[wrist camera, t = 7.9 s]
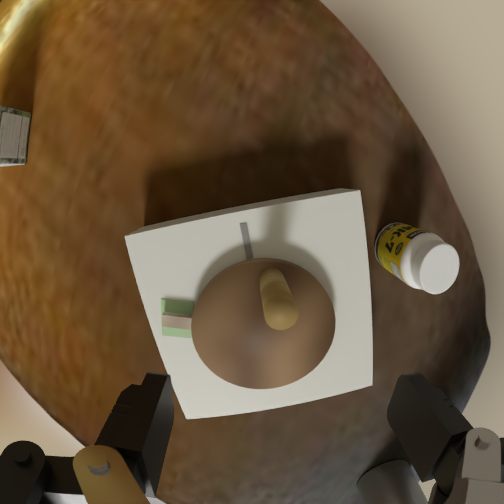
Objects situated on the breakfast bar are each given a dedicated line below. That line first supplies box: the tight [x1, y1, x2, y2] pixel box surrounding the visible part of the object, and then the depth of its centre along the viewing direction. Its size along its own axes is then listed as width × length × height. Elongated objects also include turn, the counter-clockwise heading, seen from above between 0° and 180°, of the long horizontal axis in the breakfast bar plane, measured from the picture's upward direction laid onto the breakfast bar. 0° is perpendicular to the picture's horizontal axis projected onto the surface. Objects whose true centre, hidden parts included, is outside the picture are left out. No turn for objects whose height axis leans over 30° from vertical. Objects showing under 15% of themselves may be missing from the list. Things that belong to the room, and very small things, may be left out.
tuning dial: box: [162, 258, 336, 389], centre depth 20 cm, size 13×11×7 cm
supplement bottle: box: [375, 222, 459, 294], centre depth 24 cm, size 5×5×8 cm
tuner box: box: [125, 188, 373, 419], centre depth 27 cm, size 18×18×5 cm
